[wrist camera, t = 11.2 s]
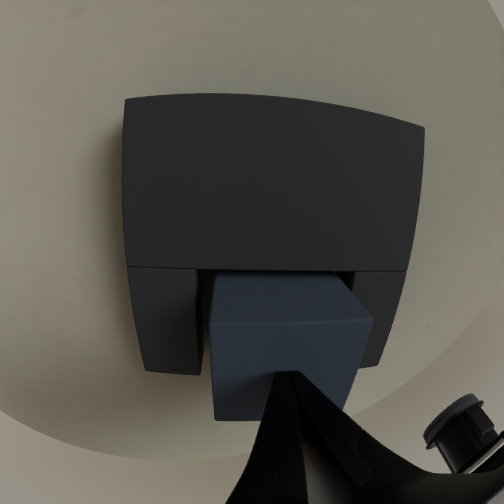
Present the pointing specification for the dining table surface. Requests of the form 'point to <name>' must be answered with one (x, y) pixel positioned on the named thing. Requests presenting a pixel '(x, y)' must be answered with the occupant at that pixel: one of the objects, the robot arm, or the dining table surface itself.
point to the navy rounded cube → (282, 336)
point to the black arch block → (261, 206)
